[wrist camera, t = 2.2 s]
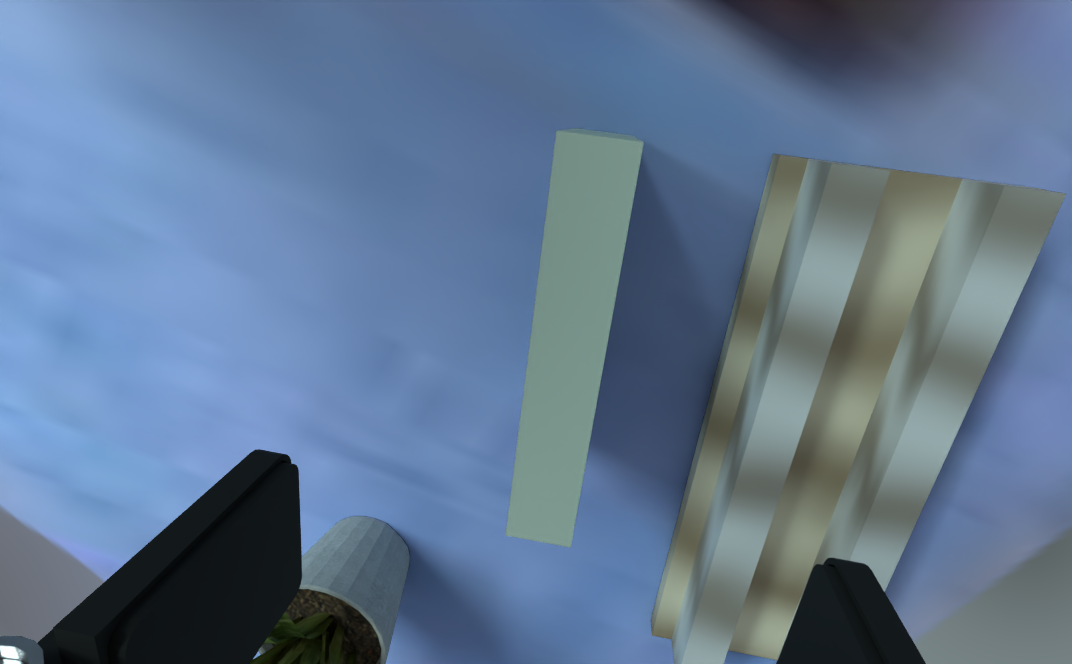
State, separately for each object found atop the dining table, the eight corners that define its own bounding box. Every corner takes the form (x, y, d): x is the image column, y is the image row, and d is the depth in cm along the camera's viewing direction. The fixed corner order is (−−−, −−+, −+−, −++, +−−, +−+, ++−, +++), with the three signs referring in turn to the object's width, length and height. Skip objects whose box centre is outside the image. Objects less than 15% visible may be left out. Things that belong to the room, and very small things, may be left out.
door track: (773, 153, 23) (799, 159, 20) (1029, 187, 22) (1100, 198, 19) (650, 620, 32) (655, 676, 29) (827, 655, 32) (852, 716, 28)
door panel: (575, 127, 24) (556, 130, 15) (632, 135, 24) (644, 142, 15) (536, 415, 29) (505, 535, 20) (582, 423, 29) (570, 547, 20)
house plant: (202, 449, 32) (-165, 740, 17) (424, 412, 29) (223, 720, 14) (294, 635, 37) (70, 998, 21) (495, 618, 34) (400, 1020, 19)
